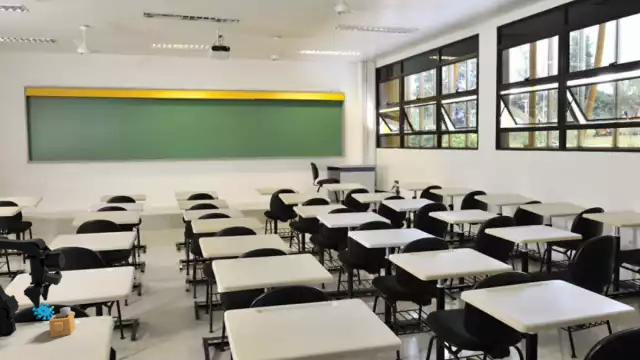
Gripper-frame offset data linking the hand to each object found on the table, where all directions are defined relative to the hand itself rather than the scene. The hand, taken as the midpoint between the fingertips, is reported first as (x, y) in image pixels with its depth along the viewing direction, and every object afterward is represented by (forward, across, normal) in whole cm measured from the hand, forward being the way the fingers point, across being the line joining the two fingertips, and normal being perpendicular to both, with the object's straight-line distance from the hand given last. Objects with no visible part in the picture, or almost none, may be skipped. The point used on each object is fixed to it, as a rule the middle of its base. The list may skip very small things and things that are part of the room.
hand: (41, 304), depth 211 cm
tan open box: (+12, -2, -8) cm, 15 cm away
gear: (+12, +16, +5) cm, 20 cm away
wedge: (+12, -4, -8) cm, 15 cm away
